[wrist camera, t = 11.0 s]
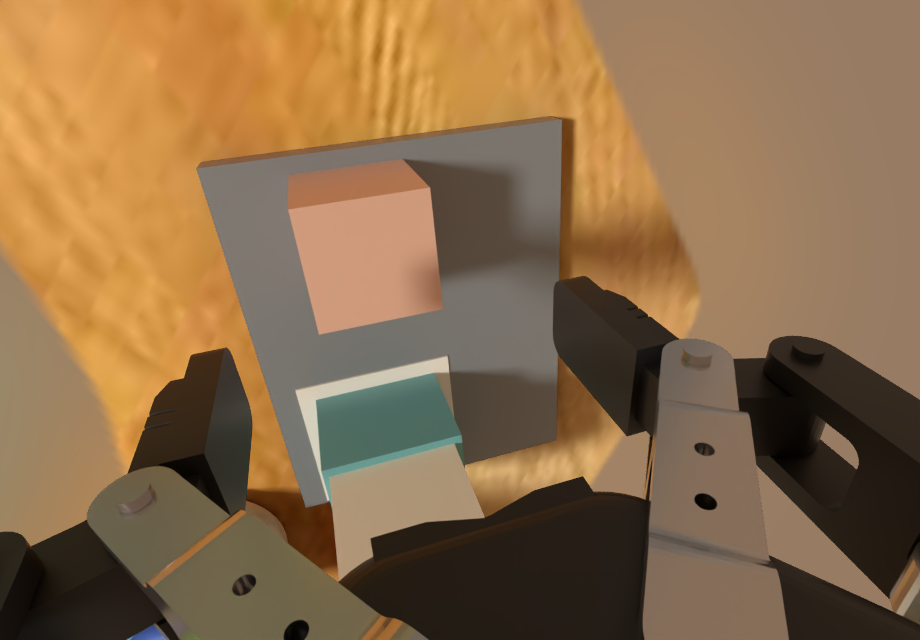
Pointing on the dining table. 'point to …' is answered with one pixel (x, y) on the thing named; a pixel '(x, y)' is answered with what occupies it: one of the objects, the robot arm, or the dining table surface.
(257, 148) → the dining table surface
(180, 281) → the dining table surface
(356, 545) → the cream brick
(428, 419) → the teal base brick
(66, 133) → the dining table surface
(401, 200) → the pink cube
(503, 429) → the baseplate
